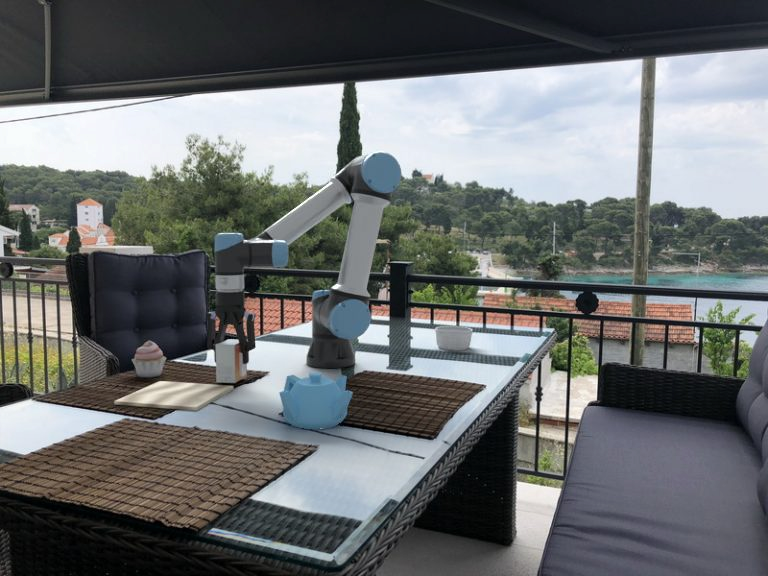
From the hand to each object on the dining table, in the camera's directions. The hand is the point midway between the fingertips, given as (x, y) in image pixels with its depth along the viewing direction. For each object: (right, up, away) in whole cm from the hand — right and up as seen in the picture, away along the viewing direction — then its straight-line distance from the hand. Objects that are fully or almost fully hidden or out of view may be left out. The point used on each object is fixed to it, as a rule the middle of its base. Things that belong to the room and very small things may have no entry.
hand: (232, 374), depth 173 cm
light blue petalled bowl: (+27, -6, -34) cm, 43 cm away
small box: (0, -2, 0) cm, 2 cm away
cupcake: (-25, -1, +6) cm, 25 cm away
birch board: (-10, -3, -15) cm, 19 cm away
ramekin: (+66, +2, +53) cm, 85 cm away
